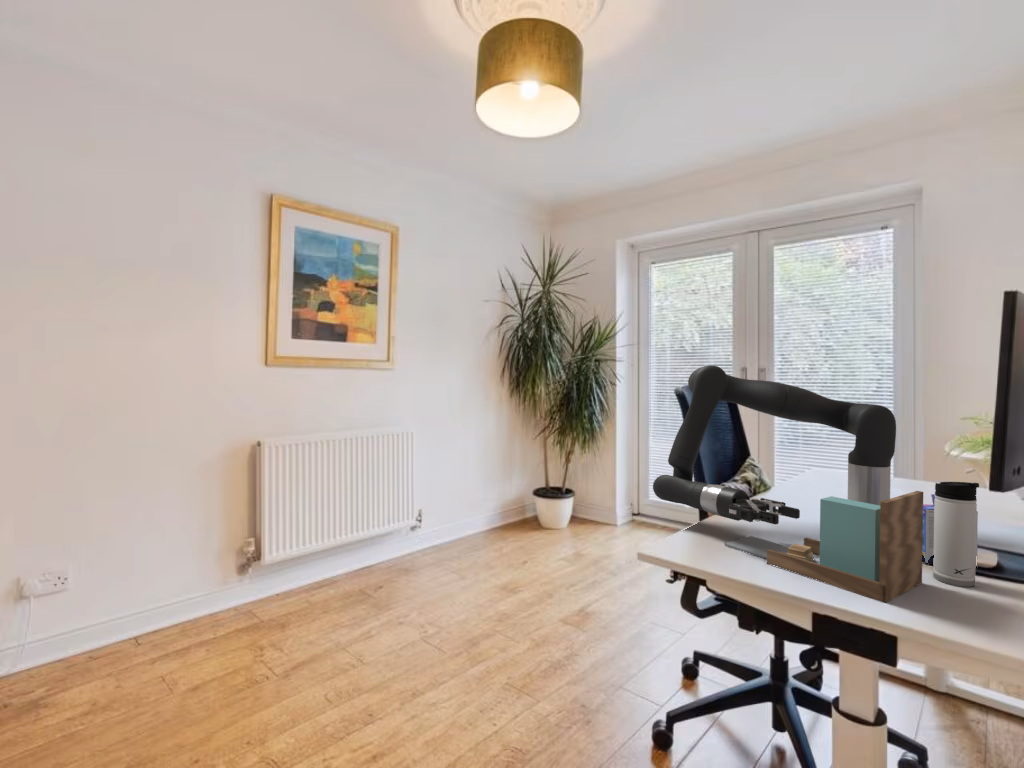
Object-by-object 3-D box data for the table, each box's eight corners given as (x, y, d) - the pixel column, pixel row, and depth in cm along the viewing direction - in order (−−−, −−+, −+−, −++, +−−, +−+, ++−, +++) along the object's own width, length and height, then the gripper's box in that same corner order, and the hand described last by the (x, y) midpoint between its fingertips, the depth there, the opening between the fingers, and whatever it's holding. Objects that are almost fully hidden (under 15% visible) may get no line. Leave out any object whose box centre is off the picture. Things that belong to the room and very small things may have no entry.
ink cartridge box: (961, 559, 111) (962, 494, 111) (979, 569, 106) (980, 500, 105) (911, 556, 113) (912, 492, 113) (926, 565, 108) (927, 498, 107)
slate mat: (751, 537, 125) (751, 535, 125) (800, 552, 115) (800, 550, 115) (724, 545, 120) (724, 543, 120) (773, 561, 109) (773, 559, 109)
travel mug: (968, 590, 95) (970, 485, 95) (926, 578, 101) (928, 478, 100) (983, 584, 98) (985, 482, 97) (942, 572, 104) (943, 476, 103)
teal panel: (830, 566, 107) (831, 496, 107) (885, 582, 98) (886, 506, 98) (819, 570, 104) (820, 499, 104) (874, 587, 96) (875, 510, 96)
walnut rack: (806, 550, 117) (807, 473, 116) (921, 583, 98) (923, 491, 98) (766, 563, 108) (767, 480, 108) (885, 602, 89) (886, 502, 89)
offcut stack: (794, 555, 114) (794, 542, 114) (813, 560, 111) (814, 547, 111) (784, 562, 110) (785, 548, 110) (805, 567, 107) (805, 553, 107)
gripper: (706, 489, 122) (770, 504, 108) (741, 483, 129) (805, 496, 116) (705, 520, 122) (770, 539, 108) (741, 512, 130) (805, 528, 116)
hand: (788, 516), depth 112 cm, fingers open, 8 cm apart
